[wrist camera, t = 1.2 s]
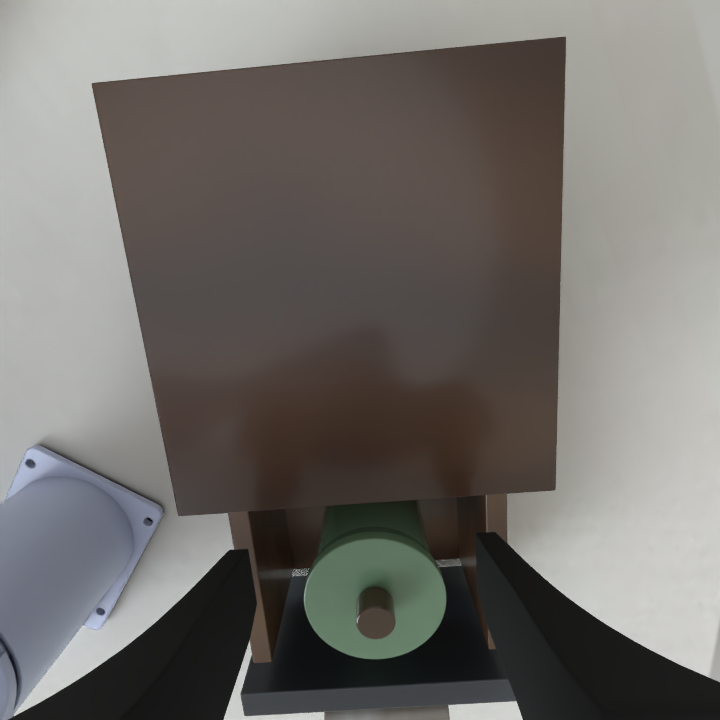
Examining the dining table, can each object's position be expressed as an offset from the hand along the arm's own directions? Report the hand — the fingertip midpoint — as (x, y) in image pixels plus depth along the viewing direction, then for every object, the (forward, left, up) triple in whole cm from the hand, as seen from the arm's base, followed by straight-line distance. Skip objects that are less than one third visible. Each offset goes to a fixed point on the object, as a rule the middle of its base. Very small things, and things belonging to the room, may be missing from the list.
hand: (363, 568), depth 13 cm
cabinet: (+7, +4, -10) cm, 13 cm away
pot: (-2, -2, -8) cm, 9 cm away
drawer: (-4, -3, -9) cm, 11 cm away
